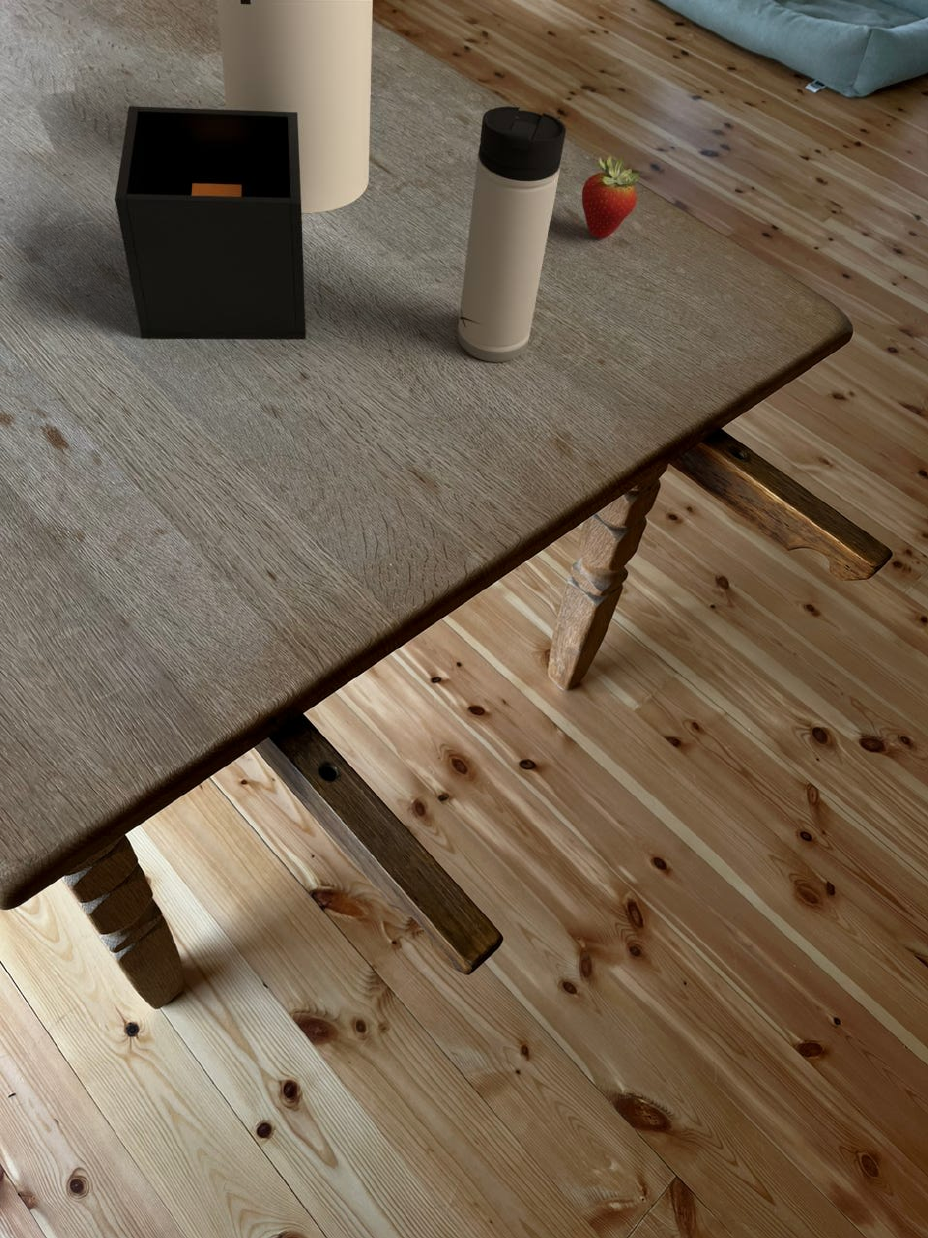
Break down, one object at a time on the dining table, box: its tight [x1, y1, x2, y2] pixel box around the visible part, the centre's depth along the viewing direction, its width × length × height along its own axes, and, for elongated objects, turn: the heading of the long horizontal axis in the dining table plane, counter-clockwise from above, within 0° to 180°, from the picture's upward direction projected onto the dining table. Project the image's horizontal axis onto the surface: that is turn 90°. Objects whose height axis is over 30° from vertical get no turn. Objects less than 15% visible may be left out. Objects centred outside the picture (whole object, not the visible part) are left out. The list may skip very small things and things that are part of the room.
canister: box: [216, 0, 374, 214], centre depth 93 cm, size 14×14×20 cm
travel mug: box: [457, 105, 567, 363], centre depth 81 cm, size 6×7×20 cm
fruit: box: [581, 155, 640, 240], centre depth 97 cm, size 5×5×8 cm
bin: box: [114, 105, 307, 340], centre depth 84 cm, size 14×14×13 cm
